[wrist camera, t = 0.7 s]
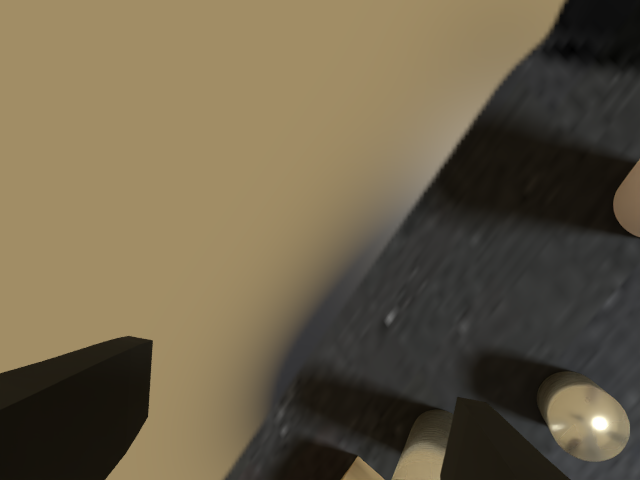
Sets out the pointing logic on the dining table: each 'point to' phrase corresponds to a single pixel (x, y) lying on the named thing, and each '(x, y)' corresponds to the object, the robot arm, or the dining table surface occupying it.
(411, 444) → the tall pin
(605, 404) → the short pin
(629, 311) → the dining table surface
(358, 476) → the pin block
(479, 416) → the robot arm
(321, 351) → the dining table surface
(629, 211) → the smoothie
